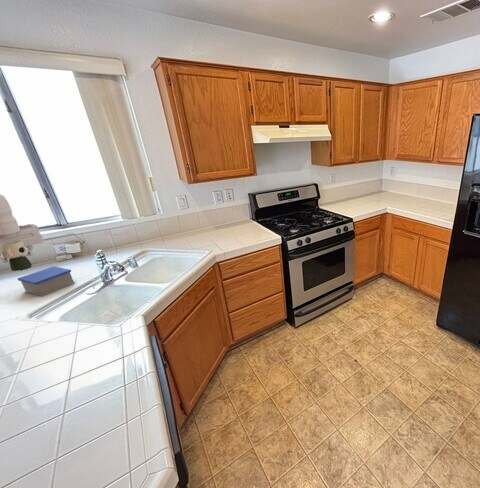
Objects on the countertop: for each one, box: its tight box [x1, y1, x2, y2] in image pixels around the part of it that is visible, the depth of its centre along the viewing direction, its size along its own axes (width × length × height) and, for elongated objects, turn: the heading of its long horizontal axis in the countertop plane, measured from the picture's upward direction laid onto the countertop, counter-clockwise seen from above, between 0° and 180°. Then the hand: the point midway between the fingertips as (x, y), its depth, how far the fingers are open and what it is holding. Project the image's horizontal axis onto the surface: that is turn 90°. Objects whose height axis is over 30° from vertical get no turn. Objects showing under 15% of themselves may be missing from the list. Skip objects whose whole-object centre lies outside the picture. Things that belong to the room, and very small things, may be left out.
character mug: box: [1, 241, 33, 272], centre depth 115 cm, size 11×7×13 cm, turn 34°
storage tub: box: [17, 266, 75, 297], centre depth 140 cm, size 15×15×8 cm
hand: (17, 259), depth 115 cm, fingers closed on character mug, 6 cm apart
